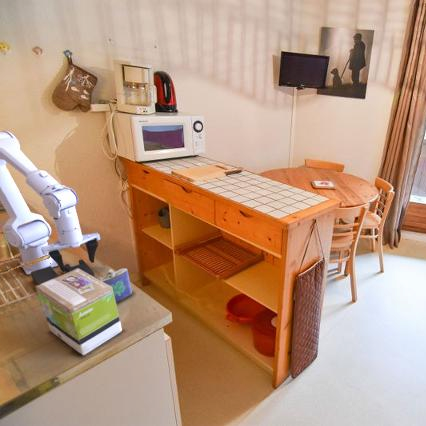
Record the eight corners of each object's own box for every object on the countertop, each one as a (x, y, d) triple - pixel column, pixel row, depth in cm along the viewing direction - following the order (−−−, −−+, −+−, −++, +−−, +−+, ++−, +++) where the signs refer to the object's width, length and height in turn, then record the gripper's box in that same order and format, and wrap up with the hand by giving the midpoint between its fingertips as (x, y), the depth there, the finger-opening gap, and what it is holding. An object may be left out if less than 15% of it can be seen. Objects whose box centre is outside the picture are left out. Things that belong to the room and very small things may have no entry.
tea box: (48, 332, 81) (32, 285, 75) (90, 310, 90) (79, 266, 84) (82, 357, 75) (68, 307, 69) (124, 331, 83) (114, 285, 78)
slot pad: (66, 273, 104) (64, 264, 103) (84, 268, 108) (82, 259, 106) (77, 286, 98) (74, 277, 97) (95, 280, 102) (93, 271, 101)
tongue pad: (33, 281, 99) (30, 272, 98) (53, 275, 103) (50, 265, 102) (44, 299, 92) (41, 289, 91) (65, 291, 96) (63, 282, 95)
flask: (129, 291, 98) (123, 261, 94) (134, 294, 97) (129, 265, 93) (97, 306, 91) (89, 275, 87) (102, 311, 90) (94, 279, 86)
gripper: (41, 240, 89) (53, 280, 94) (100, 225, 99) (108, 262, 104) (34, 231, 93) (46, 271, 98) (91, 218, 103) (100, 254, 108)
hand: (78, 266), depth 101 cm, fingers open, 7 cm apart
